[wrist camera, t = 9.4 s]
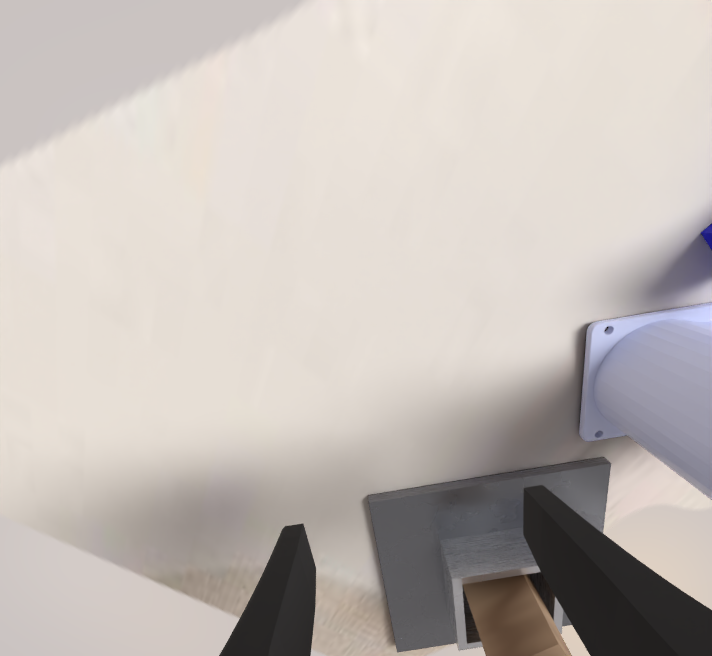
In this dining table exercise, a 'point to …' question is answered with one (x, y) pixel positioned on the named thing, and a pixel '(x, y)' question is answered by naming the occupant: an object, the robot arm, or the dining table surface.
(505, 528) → the grey square socket base
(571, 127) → the dining table surface
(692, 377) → the robot arm
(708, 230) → the blue rectangular block
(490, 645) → the rail end post
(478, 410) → the dining table surface
